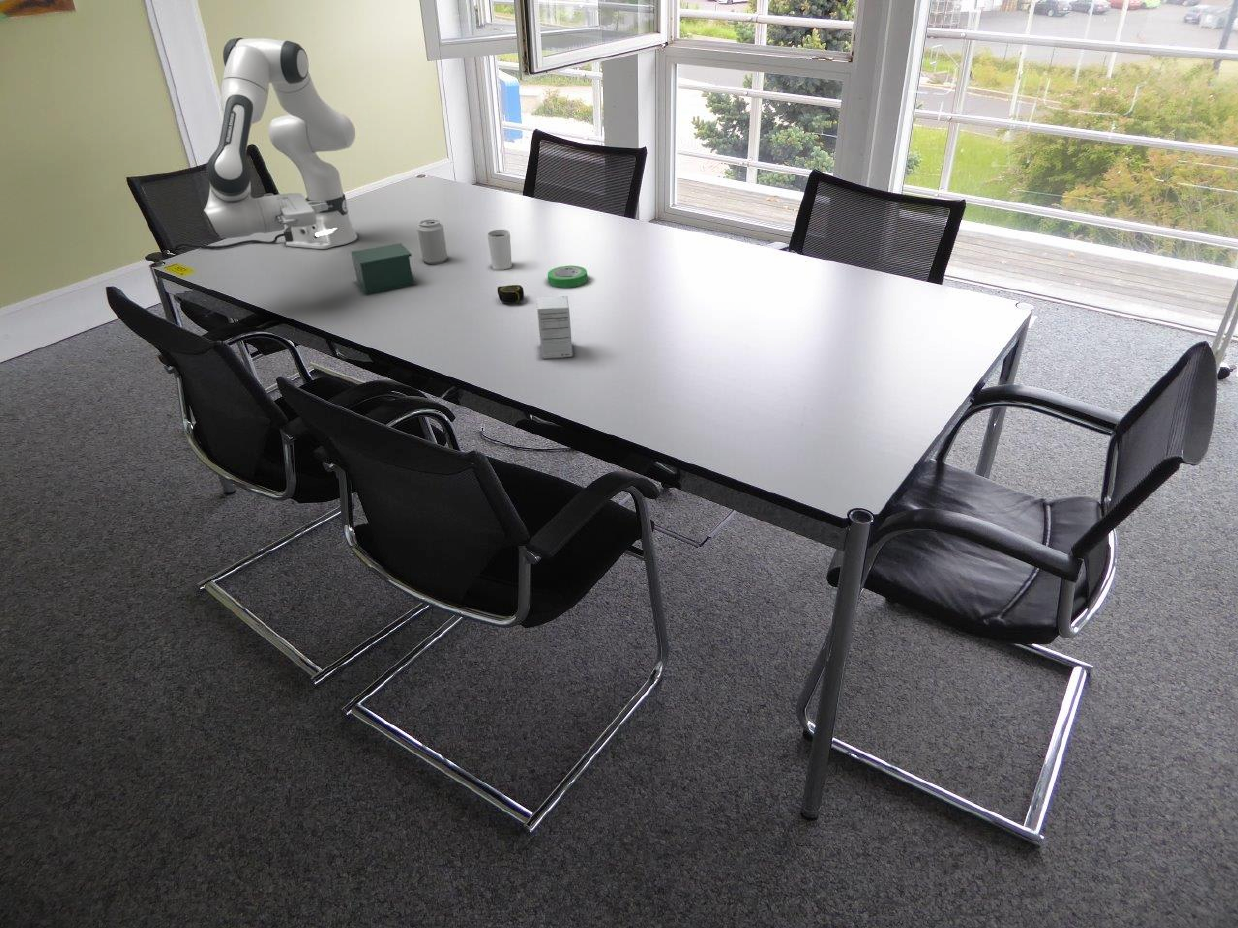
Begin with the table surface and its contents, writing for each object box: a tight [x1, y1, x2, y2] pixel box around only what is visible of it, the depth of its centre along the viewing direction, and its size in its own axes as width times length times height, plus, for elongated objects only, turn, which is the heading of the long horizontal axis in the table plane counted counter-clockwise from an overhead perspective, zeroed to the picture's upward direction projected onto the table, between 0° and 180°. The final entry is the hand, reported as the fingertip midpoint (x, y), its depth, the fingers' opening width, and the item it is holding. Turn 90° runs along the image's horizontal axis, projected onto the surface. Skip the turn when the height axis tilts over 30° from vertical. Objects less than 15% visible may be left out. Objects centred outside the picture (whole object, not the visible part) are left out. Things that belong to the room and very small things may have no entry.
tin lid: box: [350, 242, 413, 266], centre depth 245 cm, size 14×11×1 cm
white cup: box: [486, 229, 513, 271], centre depth 255 cm, size 7×7×10 cm
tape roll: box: [547, 265, 589, 289], centre depth 245 cm, size 11×11×3 cm
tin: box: [351, 254, 415, 295], centre depth 247 cm, size 14×11×8 cm
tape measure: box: [497, 284, 525, 304], centre depth 234 cm, size 7×7×4 cm
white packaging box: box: [536, 295, 573, 360], centre depth 203 cm, size 7×7×13 cm
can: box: [416, 218, 448, 265], centre depth 261 cm, size 8×8×12 cm
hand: (326, 205), depth 232 cm, fingers closed
